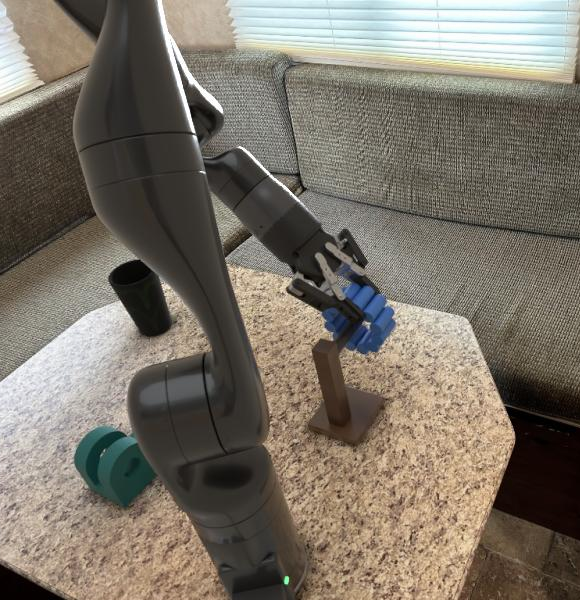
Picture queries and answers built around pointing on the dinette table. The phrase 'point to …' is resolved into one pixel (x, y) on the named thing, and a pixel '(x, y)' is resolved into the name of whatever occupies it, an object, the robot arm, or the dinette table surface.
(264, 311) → the dinette table surface
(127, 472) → the bracket
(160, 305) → the cup
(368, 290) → the blue ribbed cylinder bundle
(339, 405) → the tape stand
